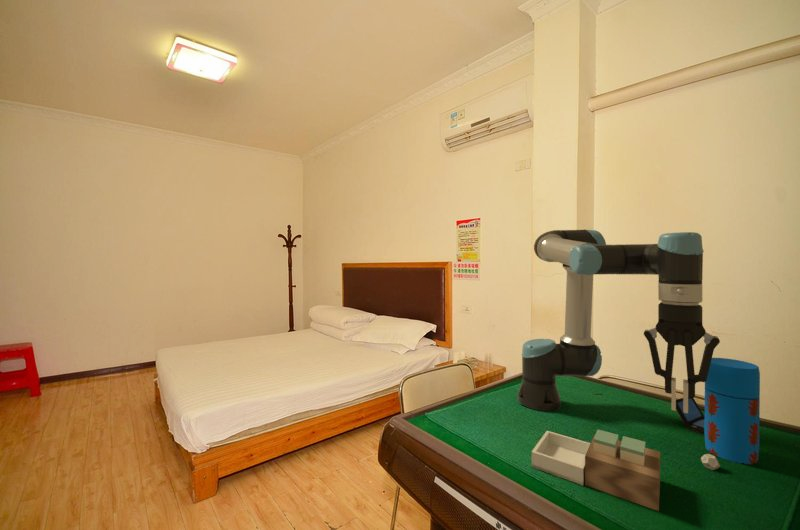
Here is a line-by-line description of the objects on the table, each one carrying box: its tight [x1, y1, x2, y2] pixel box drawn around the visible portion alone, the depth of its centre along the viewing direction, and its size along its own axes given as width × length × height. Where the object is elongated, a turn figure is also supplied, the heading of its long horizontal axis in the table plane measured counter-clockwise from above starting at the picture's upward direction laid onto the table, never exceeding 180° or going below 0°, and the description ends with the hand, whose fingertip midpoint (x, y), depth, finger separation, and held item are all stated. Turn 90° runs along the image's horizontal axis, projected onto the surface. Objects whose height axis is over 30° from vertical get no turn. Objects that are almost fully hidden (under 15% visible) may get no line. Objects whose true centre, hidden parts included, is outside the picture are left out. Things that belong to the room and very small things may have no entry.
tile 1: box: [594, 429, 619, 457], centre depth 84 cm, size 4×6×3 cm
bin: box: [531, 430, 591, 486], centre depth 90 cm, size 12×14×4 cm
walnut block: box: [584, 433, 661, 512], centre depth 82 cm, size 14×13×7 cm
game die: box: [700, 453, 721, 471], centre depth 88 cm, size 4×4×3 cm
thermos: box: [703, 357, 761, 465], centre depth 94 cm, size 11×11×25 cm
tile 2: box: [620, 435, 646, 466], centre depth 81 cm, size 4×6×3 cm
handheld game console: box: [676, 397, 705, 436], centre depth 110 cm, size 12×11×7 cm
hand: (679, 409), depth 76 cm, fingers closed
